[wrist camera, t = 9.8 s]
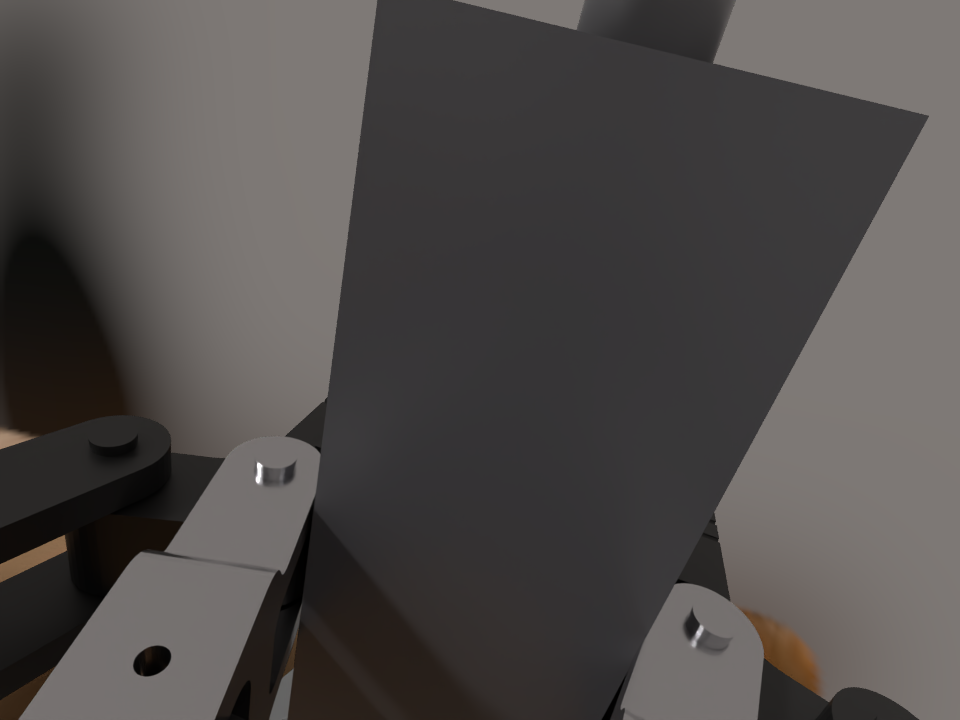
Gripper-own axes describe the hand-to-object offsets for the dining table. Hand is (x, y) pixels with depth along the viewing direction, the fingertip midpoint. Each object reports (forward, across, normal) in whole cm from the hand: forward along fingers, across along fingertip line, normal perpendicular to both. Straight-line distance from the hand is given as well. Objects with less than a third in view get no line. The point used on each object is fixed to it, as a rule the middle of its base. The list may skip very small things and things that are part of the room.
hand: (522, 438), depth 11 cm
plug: (-3, 0, +8) cm, 8 cm away
